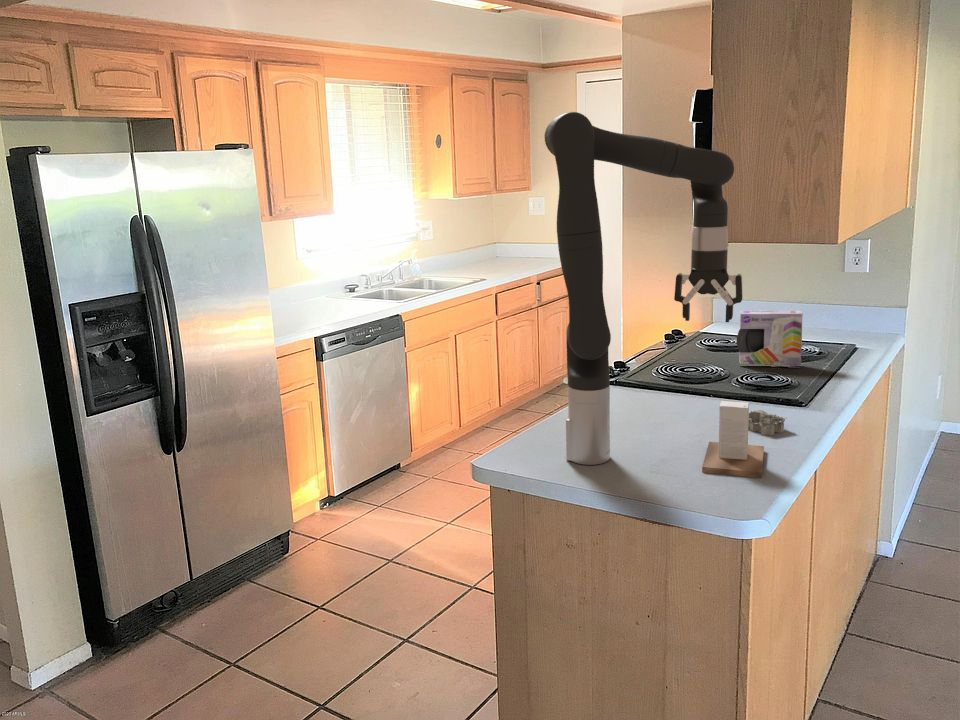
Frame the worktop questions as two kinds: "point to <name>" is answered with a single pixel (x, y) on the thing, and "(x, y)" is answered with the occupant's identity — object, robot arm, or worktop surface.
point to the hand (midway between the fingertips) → (707, 320)
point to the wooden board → (734, 462)
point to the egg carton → (765, 422)
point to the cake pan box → (770, 337)
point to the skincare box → (733, 430)
